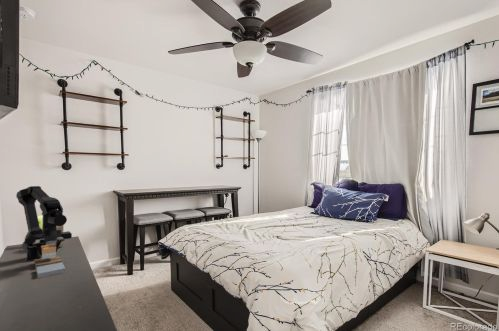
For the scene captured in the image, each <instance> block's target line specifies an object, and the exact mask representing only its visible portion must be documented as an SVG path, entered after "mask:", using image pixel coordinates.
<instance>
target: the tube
mask: <svg viewBox="0 0 499 331" xmlns="http://www.w3.org/2000/svg"><path fill="white" fill-rule="evenodd" d="M37 217H38V222H39V227H40V228H41V229H42V225H43V224H42V223H43V215H42V214H40V215H38V214H37Z"/></svg>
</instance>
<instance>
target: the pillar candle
mask: <svg viewBox="0 0 499 331" xmlns="http://www.w3.org/2000/svg"><path fill="white" fill-rule="evenodd" d="M56 230H61V233H62V232H64V225H63V226H56ZM51 244H55V246H56V240H55V241H48V242H46V244H45V245H51ZM62 246H63V247H64V241H62V242H61V244H60V245H59V247H61V248H63V247H62ZM59 247H58V249H60V248H59Z"/></svg>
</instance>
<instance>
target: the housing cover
mask: <svg viewBox="0 0 499 331" xmlns="http://www.w3.org/2000/svg"><path fill="white" fill-rule="evenodd" d="M41 251H42V254H47V253H53V252H56V246H55V244H51V245H44V246H41ZM56 253H57V252H56Z"/></svg>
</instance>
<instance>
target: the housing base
mask: <svg viewBox="0 0 499 331" xmlns="http://www.w3.org/2000/svg"><path fill="white" fill-rule="evenodd" d="M56 256H57V252H53V253H47V254H42V255H41V258H42V259H47V258H52V257H56Z"/></svg>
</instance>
